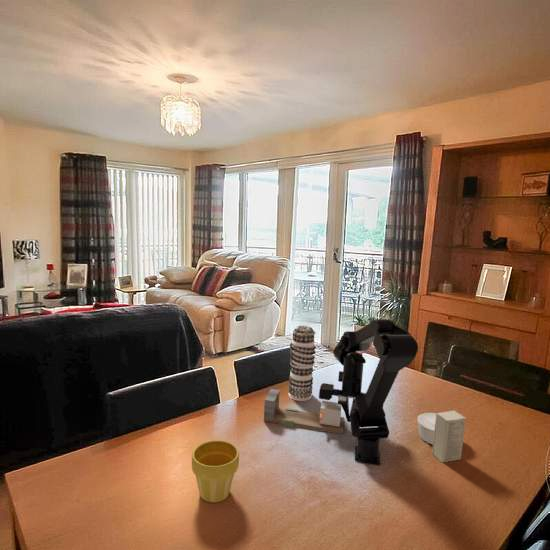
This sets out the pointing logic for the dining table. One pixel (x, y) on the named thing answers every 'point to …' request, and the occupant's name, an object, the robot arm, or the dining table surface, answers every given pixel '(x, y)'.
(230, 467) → the plant pot
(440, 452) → the skincare box
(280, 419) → the gauge board
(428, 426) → the ramekin
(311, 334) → the decorative candle
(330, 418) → the block
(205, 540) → the dining table surface
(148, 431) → the dining table surface
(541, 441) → the dining table surface
